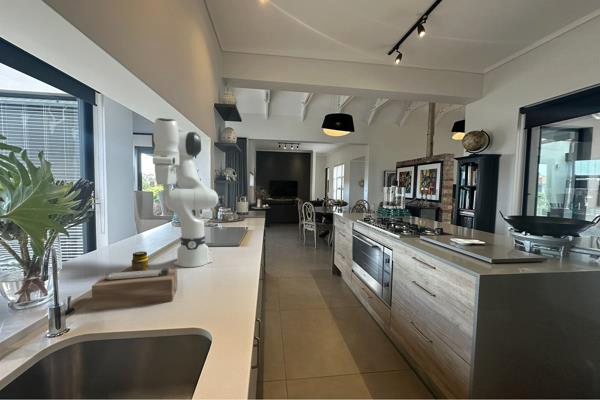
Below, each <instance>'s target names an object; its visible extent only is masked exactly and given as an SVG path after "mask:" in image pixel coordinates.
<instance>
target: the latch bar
mask: <svg viewBox="0 0 600 400" xmlns="http://www.w3.org/2000/svg"><path fill="white" fill-rule="evenodd" d="M161 270H162V269H153V270H152V269H148V271H134V272H132V271H123V272H121V271H120V272H109V273H108V274H109V275H107V276H106V277H105V280H110V279H123V278H136V277H149V276H159V274H160V273H161Z"/></svg>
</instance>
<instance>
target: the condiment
mask: <svg viewBox="0 0 600 400" xmlns="http://www.w3.org/2000/svg"><path fill="white" fill-rule="evenodd" d="M148 270H149V258H148V253H147V251H136V252H133V253H132V259H131V272H134V271H148Z"/></svg>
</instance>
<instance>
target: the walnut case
mask: <svg viewBox="0 0 600 400" xmlns="http://www.w3.org/2000/svg"><path fill="white" fill-rule="evenodd" d="M160 270H161V273H160V274H159V276H149V277H136V278H123V279H110V280H105V277H106V276H107V275H109V274H110V273H106V274H105V275H103V276H102V277H100V279H98V280H97V282H94V284H92V285H91V294H92V295H91V298H92V299H91V300H92V301H91V303H92V310H101V309H112V308H121V307H129V306H139V305H149V304H157V303H166V302H168V303H169V302H173V300H174V298H175V295H176V292H177V291H178V268H169V267H163V268H161V269H160Z"/></svg>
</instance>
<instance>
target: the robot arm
mask: <svg viewBox="0 0 600 400" xmlns="http://www.w3.org/2000/svg"><path fill="white" fill-rule="evenodd" d="M151 146H152V148H153V149H154V150H153V158H152V164H154V173H155V174H154V175H155V181H156V184H157V185H158V186H160V185H161V186H162V188H163V196H164V199H163V200H164V204H165V207H166V208H167V209H168V210H170V211H172V212H173V213H174V214H175V215H176V216H177V218H178V219H179V222H180V223H179V224H180V230H181V237H180V246H178V248H177V260H175V261H174V262H173V265H174V266H179V267H180V268H181V267H183V268H195V267H201V266H205V265H207V264H211V263H213V262H214V261H213V259H212V257H211V256H210V252H209V246H208V245H207V244H206V239H207V238H206V234H205V222H204V220H203V219H202V218H201V217H198V216H197V215H194V214H193V212H192V211H200V210H209V209H210V210H211V209H215V207H217V205H218V203H219V195H218V193H217V191H215V190H214V189H212V188H209V187H208V186H206V185H205V184H204V183H203V182H202V180H201V179H200V176H199V173H198V169H197V166H196V164H195V162H194V158H195V159H197V156H199V154H200V153H201V151H202V150H203V149H202V148H203V142H202V138H201V136H200V135H199V134H198V133H197V132H196V131H188V130H186V129H183V128H182V127H180V126H179V125H178V121H177V120H175V119H173V118H161V117H159V118H155V120H154V126H153V133H152V134H151ZM176 183H177V184H178V187H179V188H175V189H172V185H176Z"/></svg>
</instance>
